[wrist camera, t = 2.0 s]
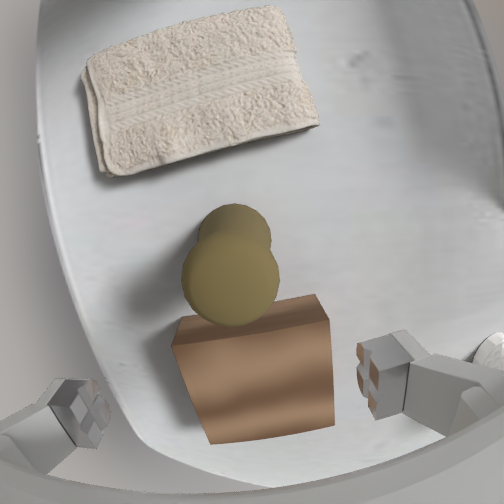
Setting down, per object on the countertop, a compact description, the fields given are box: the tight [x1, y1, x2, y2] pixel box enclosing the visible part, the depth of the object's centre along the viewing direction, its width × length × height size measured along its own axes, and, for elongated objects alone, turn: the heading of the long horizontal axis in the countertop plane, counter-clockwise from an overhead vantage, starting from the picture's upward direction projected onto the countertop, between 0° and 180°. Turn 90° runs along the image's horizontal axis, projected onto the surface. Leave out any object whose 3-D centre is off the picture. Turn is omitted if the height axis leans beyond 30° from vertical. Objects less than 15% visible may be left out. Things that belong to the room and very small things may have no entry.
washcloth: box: [81, 5, 320, 178], centre depth 21 cm, size 12×18×3 cm, turn 105°
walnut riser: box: [171, 294, 335, 445], centre depth 26 cm, size 12×12×5 cm
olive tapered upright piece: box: [182, 204, 280, 327], centre depth 20 cm, size 6×6×11 cm
